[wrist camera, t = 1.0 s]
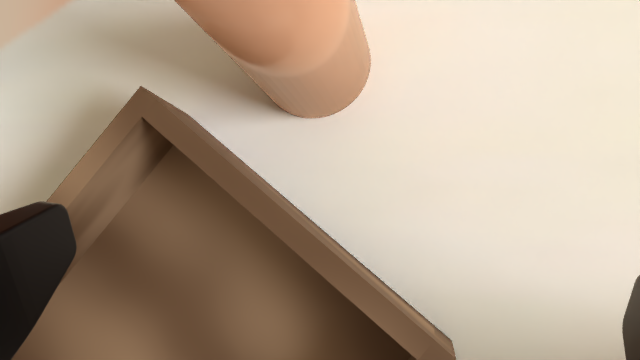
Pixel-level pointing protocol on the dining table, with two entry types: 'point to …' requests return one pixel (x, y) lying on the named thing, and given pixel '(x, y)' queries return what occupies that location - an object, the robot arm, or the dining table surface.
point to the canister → (292, 48)
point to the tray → (207, 262)
